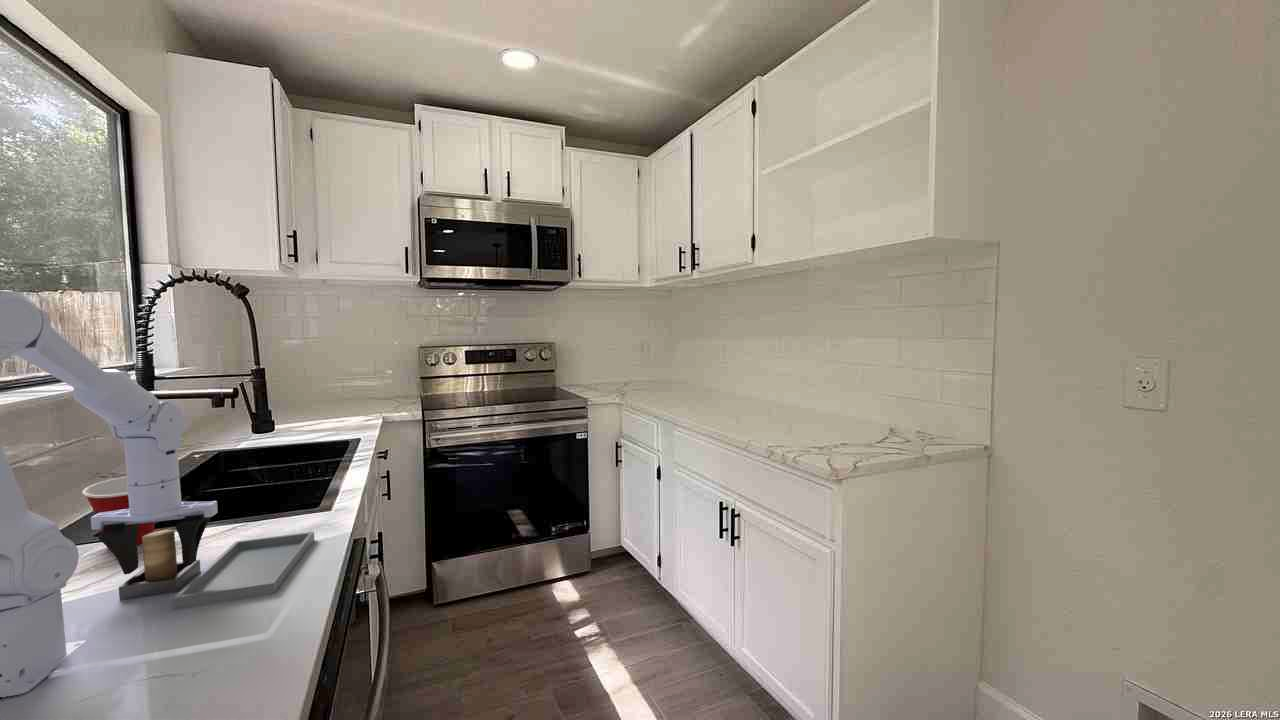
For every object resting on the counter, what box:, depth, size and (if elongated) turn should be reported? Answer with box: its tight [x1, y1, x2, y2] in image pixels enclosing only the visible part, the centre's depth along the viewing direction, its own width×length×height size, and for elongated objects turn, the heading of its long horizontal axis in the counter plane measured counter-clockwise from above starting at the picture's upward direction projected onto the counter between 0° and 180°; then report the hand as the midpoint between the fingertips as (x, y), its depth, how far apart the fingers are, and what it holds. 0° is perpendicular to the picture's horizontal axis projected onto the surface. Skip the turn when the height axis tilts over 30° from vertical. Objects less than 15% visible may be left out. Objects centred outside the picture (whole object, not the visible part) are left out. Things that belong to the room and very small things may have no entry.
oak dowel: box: [141, 529, 178, 581], centre depth 77 cm, size 4×4×8 cm
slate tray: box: [172, 531, 315, 610], centre depth 82 cm, size 20×12×2 cm, turn 18°
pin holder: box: [118, 559, 201, 602], centre depth 78 cm, size 7×7×3 cm
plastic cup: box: [81, 475, 156, 550], centre depth 94 cm, size 11×11×12 cm
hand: (160, 567), depth 78 cm, fingers open, 7 cm apart
